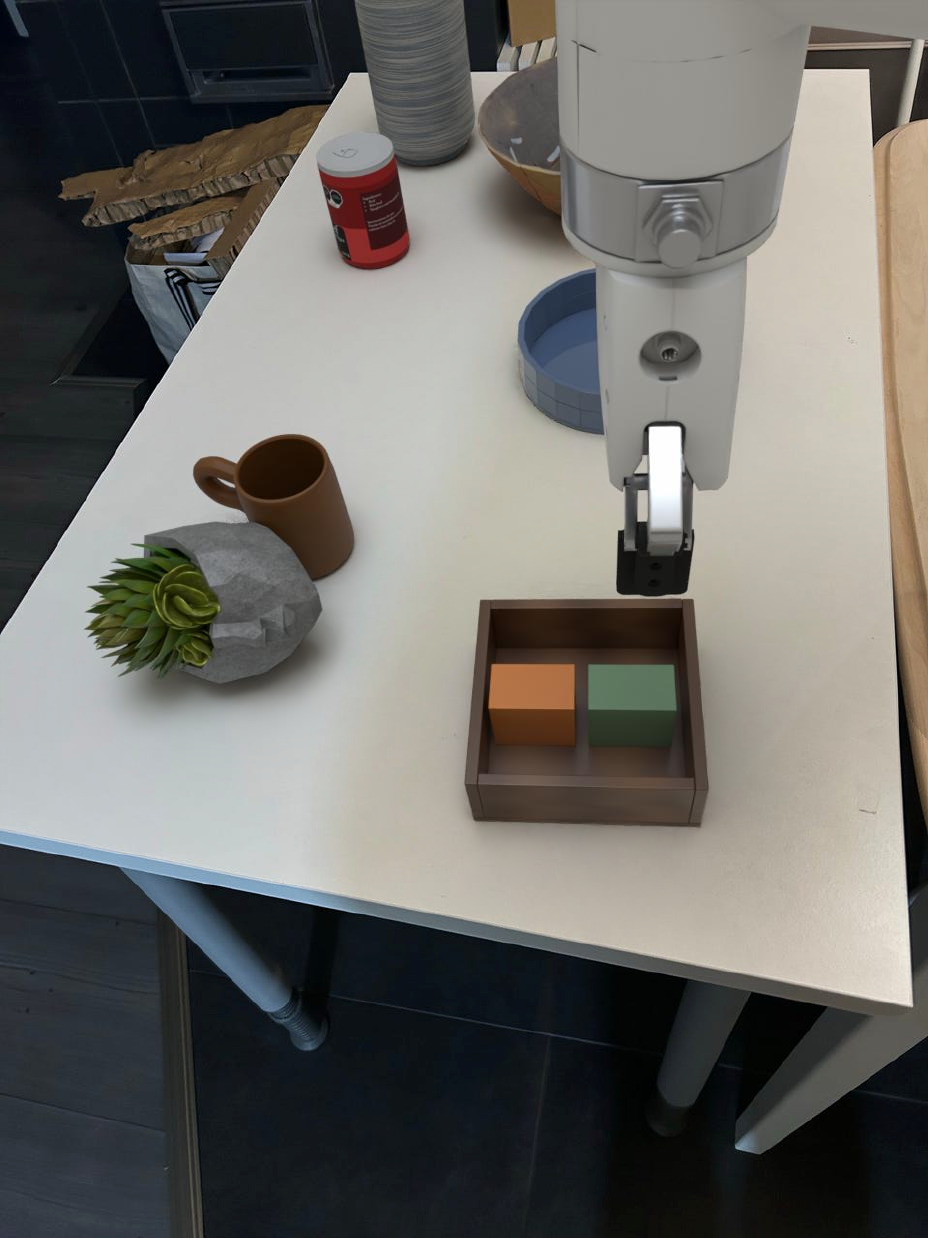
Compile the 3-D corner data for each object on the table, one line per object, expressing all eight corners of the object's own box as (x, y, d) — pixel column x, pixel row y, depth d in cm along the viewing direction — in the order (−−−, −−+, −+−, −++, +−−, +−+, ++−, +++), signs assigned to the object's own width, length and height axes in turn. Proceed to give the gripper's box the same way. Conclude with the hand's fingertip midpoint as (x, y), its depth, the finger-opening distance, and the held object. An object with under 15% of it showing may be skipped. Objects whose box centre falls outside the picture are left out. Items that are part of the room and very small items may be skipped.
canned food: (347, 230, 104) (324, 132, 95) (416, 228, 102) (399, 128, 93) (332, 271, 99) (307, 172, 90) (404, 270, 98) (385, 169, 89)
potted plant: (346, 649, 65) (139, 744, 59) (297, 636, 76) (120, 715, 71) (282, 486, 62) (58, 569, 56) (241, 498, 74) (52, 568, 68)
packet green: (668, 703, 63) (673, 664, 59) (671, 747, 62) (676, 710, 57) (588, 702, 64) (588, 664, 60) (588, 746, 62) (588, 709, 58)
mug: (205, 567, 76) (162, 489, 69) (242, 501, 81) (205, 420, 73) (337, 590, 73) (307, 511, 66) (369, 520, 77) (344, 437, 70)
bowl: (583, 116, 112) (582, 26, 104) (758, 175, 101) (772, 79, 93) (438, 214, 103) (425, 124, 95) (611, 290, 92) (613, 195, 84)
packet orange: (576, 702, 64) (574, 664, 60) (575, 746, 62) (574, 709, 58) (498, 701, 65) (491, 663, 61) (495, 744, 63) (488, 708, 59)
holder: (687, 644, 67) (693, 598, 62) (700, 827, 59) (709, 790, 54) (487, 643, 69) (479, 599, 64) (473, 821, 61) (464, 784, 56)
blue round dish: (712, 300, 89) (717, 259, 85) (728, 431, 79) (735, 390, 75) (525, 309, 92) (522, 269, 88) (516, 438, 81) (513, 398, 78)
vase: (433, 113, 117) (403, -106, 98) (497, 140, 111) (477, -88, 93) (364, 153, 113) (319, -67, 95) (426, 183, 107) (391, -45, 89)
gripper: (821, 330, 26) (742, 659, 40) (757, 49, 36) (712, 390, 50) (555, 342, 27) (568, 658, 41) (564, 65, 37) (572, 395, 51)
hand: (647, 511), depth 45 cm, fingers open, 9 cm apart
